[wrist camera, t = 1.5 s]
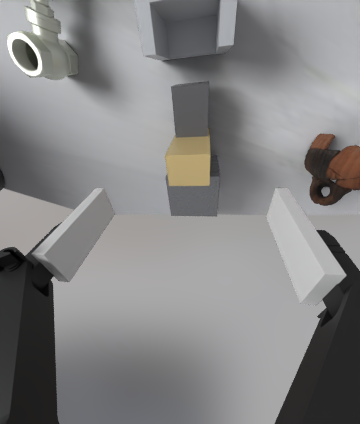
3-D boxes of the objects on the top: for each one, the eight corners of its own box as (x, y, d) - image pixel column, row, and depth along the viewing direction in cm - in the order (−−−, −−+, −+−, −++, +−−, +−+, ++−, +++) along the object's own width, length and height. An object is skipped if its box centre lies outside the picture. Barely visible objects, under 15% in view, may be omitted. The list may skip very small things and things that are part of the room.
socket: (161, 60, 21) (143, 56, 15) (155, 6, 19) (129, -27, 12) (225, 53, 20) (233, 44, 14) (229, -7, 17) (241, -49, 11)
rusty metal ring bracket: (328, 108, 23) (417, 112, 17) (354, 129, 27) (431, 138, 21) (279, 190, 28) (334, 216, 22) (308, 196, 33) (360, 219, 26)
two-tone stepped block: (183, 196, 32) (176, 235, 24) (174, 84, 21) (156, 91, 14) (207, 196, 31) (207, 237, 24) (210, 81, 21) (212, 86, 13)
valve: (90, 88, 24) (92, -51, 17) (59, 92, 19) (42, -104, 12) (42, 67, 24) (22, -90, 16) (-3, 66, 18) (-64, -165, 11)
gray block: (177, 191, 34) (171, 215, 28) (173, 157, 29) (165, 177, 24) (215, 191, 33) (216, 216, 27) (217, 155, 28) (219, 176, 23)
